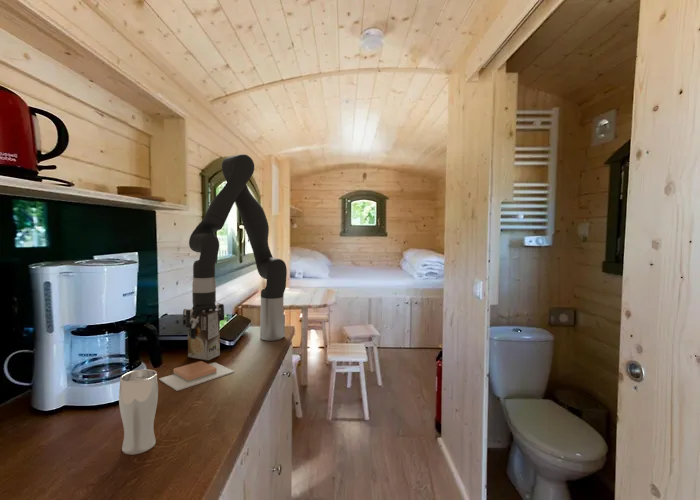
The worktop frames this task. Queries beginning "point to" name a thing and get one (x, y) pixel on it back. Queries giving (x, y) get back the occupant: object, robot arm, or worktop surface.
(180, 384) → the mat
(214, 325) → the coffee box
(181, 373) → the tile
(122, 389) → the beer glass
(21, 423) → the worktop surface
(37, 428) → the worktop surface
